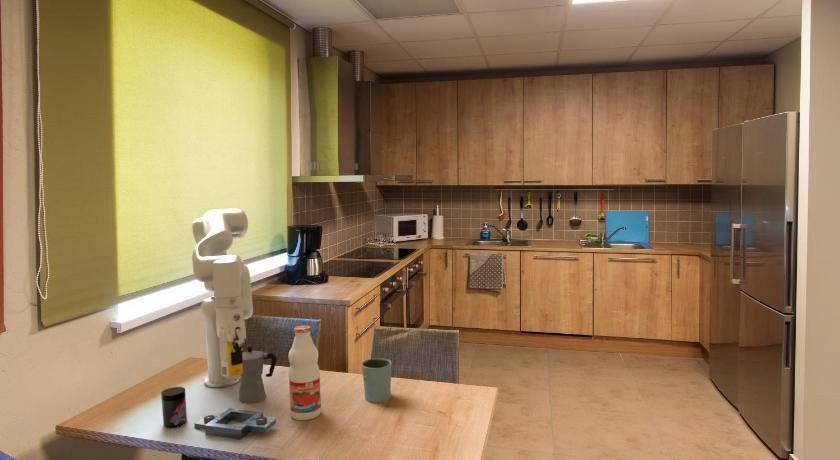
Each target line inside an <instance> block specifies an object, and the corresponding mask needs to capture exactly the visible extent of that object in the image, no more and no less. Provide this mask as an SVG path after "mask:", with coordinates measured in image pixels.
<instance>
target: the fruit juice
mask: <svg viewBox="0 0 840 460" xmlns="http://www.w3.org/2000/svg"><path fill="white" fill-rule="evenodd" d="M293 331H294V334H295V336H294V338H293V342H292V346H291V348H290V350H289V352H288V362H289V365H290V366H289V369H288V387H289V388H288V389H289V390H288V391H289V407H290V408H289V409H290V410H289V411H290V416H291V418H292V419H294V420H297V421H310V420H312V419H313V420H314V419H316V418H317V417H319V416H320V415H321V414H322V413H321V412H322V407H321V406H322V403H321V401H322V399H321V398H322V397H321V379H320V377H321V372H320V366H319V365H318V360H319V351H318V348H317V347H316V345H315V344H314V341H313V339H312V336H311V326H310V325H306V324H305V325H297V326H295V327H294V329H293Z"/></svg>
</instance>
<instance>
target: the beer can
mask: <svg viewBox="0 0 840 460" xmlns="http://www.w3.org/2000/svg"><path fill="white" fill-rule="evenodd" d="M233 340H234V341H236V340H237V338H234V339H233ZM219 344H220V361H221V375H222V376H223V377H224V378H227V379H231V378H237V377H239V376H241V374H242V373H243V363H242V364H238V365H234V366H232V365H231V352H232V349H231V344H230V342H228V341H227V338H226V333H225V331H224V328H221V327H220V329H219ZM236 344H238V342H237V343H234V346H235V345H236Z"/></svg>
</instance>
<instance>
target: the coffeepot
mask: <svg viewBox="0 0 840 460" xmlns="http://www.w3.org/2000/svg"><path fill="white" fill-rule="evenodd" d="M246 348H247V351H244V352H243V351H242V360H243V373H242V374H241V376H240V377H241V378H240V380H239V391H238V401H239V402H240V403H241V404H245V405H249V404H250V405H252V404H257V403H260V402H262V401H264V400H265V399H266V398H267V393H266V390H265V386H264V382H263V378H262V377H263V376H262V374H263V372H264V361H265V360H267V359H271V361H270V367H269V369H268V370H269V373H265V378H269V377H270V378H271V377H272V376H273V374H274V371H275V367H276V366H277V365H276V364H277V361H278V356H276V355H275V354H274V353H273V352H263V351H258V350H253V346H251V345H250V346H247V347H246Z"/></svg>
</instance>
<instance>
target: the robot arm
mask: <svg viewBox="0 0 840 460" xmlns="http://www.w3.org/2000/svg"><path fill="white" fill-rule="evenodd" d="M248 227H249V219H248V216H247V214H246V212H245V211H244V210H243V209H240V208H228V209H227V208H225V209H223V208H222V209H212V210H208V211H207V212H206V213H205V214H203V216H202V217H200V218H197V219H195V220H194V221H193V222H192V224H191V228H192V229H191V231H192V234H193V238H194V240H195V242H196V245H195V247H194V249H193V251H192V255H191V256H192V257H191V261H192V270H193V271H192V273H193V276H194V278H195V279H196V280H197V281H198V282H199V283H200V282H201V283H203V285H204V288H205V290H206V291H208V292H209V293H210V292H211V293H213V295H212V296H209V297H207V298H204V300H202V302H201V305H200V306H201V307H200V308H201V309H200V310H201V315H202V320H203V324H204V325H203V326H204V330H205V331H204V332H205V342H206V343H205V344H206V346H205V348H206V359H207V360H206V363H207V376H206V377H205V378H204V380H203V384H204V385H205V386H206V387H210V388H223V387H224V388H225V387H229V386H232V385H235V384H236V383H238V382H240V381H241V377H240V376H239V377H237V378H231V379H227V378H224V377H223V376H222V375H221V361H220V344H219V329H220V327H221V328H224V331H225V333H226V338H227V341H228V342H230V344H231V349H232V352H231V365H232V366H234V365H238V364H242V363H243V360H242V352H243V348H244V344H245V340H246V339H247V331H246V321H245V320H247V319H249V318H251V316H252V315H253V311H254V306H253V305H254V304H253V292H252V282H251V274H250V269H249V268H248V266H247V265H246V264H245V263H244V260H243V259H242V257H240V256H239V255H238V254H228V253H227V252H228V251H229V250H230V248H231V247H232V245H233V243H234V240H241V239H242V238H244V237H245V234H246V233H247V231H248ZM234 338H237V340H236V341H234V340H233V339H234ZM237 342H238V344H236V345H235V346H234V343H237Z"/></svg>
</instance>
